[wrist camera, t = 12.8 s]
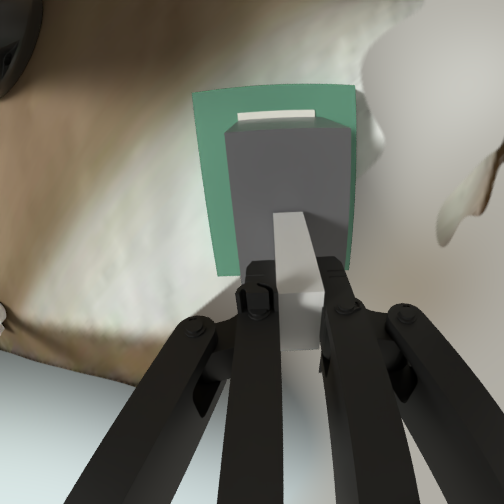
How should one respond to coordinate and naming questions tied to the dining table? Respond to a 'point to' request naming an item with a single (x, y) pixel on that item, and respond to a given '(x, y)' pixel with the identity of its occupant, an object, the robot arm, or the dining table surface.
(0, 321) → the joystick
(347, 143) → the block
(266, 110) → the board
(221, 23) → the dining table surface
